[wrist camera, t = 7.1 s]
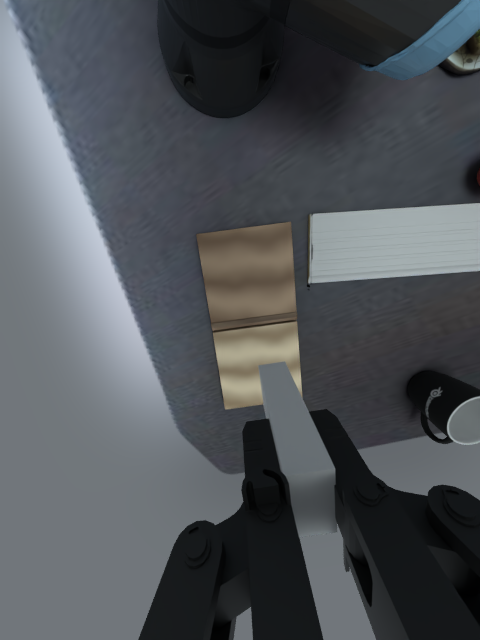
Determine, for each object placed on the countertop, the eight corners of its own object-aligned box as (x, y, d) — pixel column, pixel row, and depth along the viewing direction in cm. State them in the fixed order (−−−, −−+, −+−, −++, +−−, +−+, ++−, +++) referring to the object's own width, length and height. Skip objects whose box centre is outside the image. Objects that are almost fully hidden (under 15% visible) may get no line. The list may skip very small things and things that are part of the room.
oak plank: (213, 329, 41) (212, 332, 39) (293, 318, 41) (296, 321, 39) (225, 402, 44) (225, 409, 42) (299, 392, 44) (302, 398, 42)
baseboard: (480, 278, 41) (496, 203, 38) (499, 280, 38) (518, 199, 35) (305, 291, 40) (306, 215, 37) (311, 294, 37) (313, 212, 34)
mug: (410, 361, 44) (461, 392, 34) (453, 367, 45) (515, 399, 35) (389, 415, 47) (430, 458, 38) (429, 420, 48) (481, 462, 38)
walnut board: (197, 235, 36) (195, 233, 34) (287, 223, 36) (291, 221, 34) (213, 326, 40) (212, 331, 38) (293, 316, 41) (297, 319, 38)
